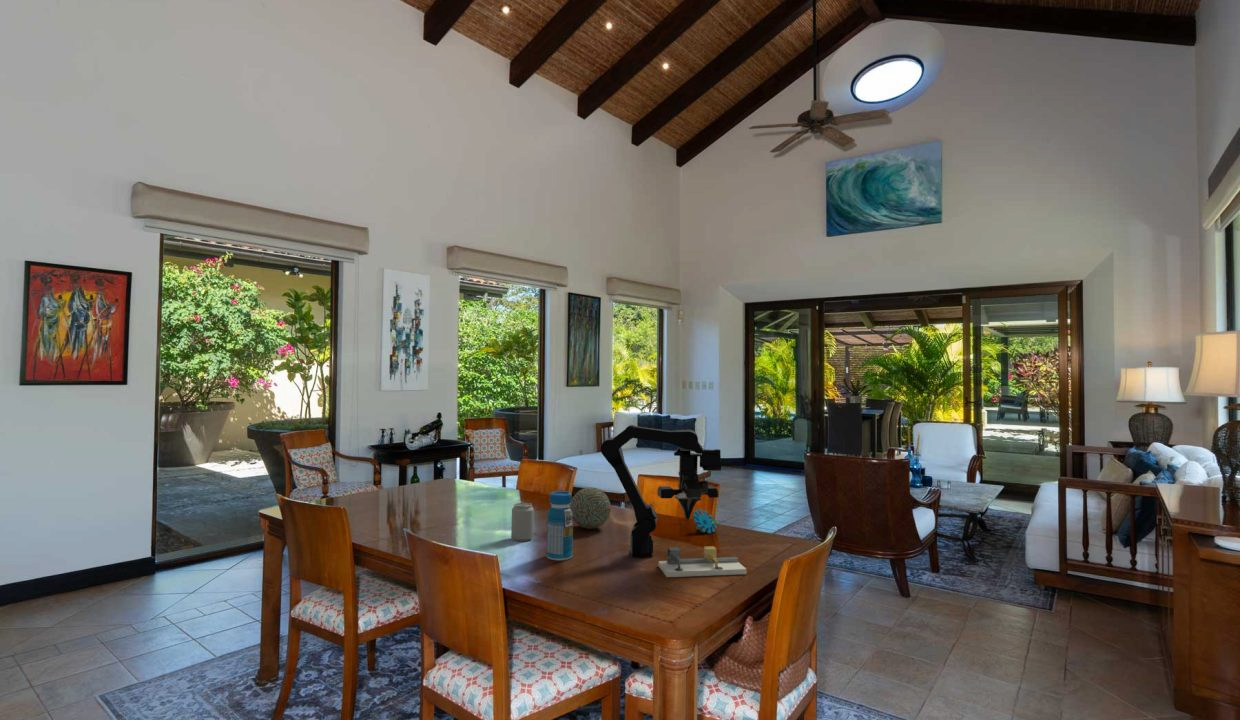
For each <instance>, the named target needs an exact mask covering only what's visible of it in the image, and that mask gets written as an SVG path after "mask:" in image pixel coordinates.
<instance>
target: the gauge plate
mask: <svg viewBox="0 0 1240 720" xmlns="http://www.w3.org/2000/svg"><path fill="white" fill-rule="evenodd" d="M680 565H681V567H680V568H678V565H677V564H667V560H660V561H659V560H658V567H659V569H660V570H661V571H662V573H663V574H664V576H665V577H666V578H678V577H679V578H680V577H683V578H684V577H705V576H706V577H707V576H708V577H709V576H731V575H733V576H734V575H747V567H745V566H743V565H742V564H741V563H740V562H739V561H738V562H723V563H718V567H715V563H693V564H680Z"/></svg>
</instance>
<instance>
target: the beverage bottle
mask: <svg viewBox="0 0 1240 720" xmlns="http://www.w3.org/2000/svg"><path fill="white" fill-rule="evenodd" d="M572 495H573V494H572V493H571V492H570V491H564V490H563V491H562V490H560V491H558V490H557V491H552V492H550V493H549V503H550V505H551V506H550V507H549V509H548V511H547V514H546V516H547V520H546V553H545V554H546V558H547V559H548V560H551V561H558V562H559V561H561V562H562V561H567V560H570V559H571V558H572V557H573V541H574V540H573V538H574V525H575V524H574V522H575V521H574V520H573V511H572V509H571V507H570V504H571V501H572V497H573V496H572Z"/></svg>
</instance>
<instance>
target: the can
mask: <svg viewBox="0 0 1240 720" xmlns="http://www.w3.org/2000/svg"><path fill="white" fill-rule="evenodd" d="M534 511H535V509H534V507H533V504H532V503H530V502H515V503H514V504H513V507H512V508H511V527H510V528H511V532H510V533H511V534H510V535H511V536H510V537H511V538H512V539H513V541H516V542H527V541H531V539H532V538H533V537H534V514H535V513H534Z"/></svg>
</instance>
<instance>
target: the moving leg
mask: <svg viewBox="0 0 1240 720" xmlns="http://www.w3.org/2000/svg"><path fill="white" fill-rule="evenodd" d="M703 558H706V559H711V560H712V561H713V562H714V563H715V567H718V561H717V560H716V558H717V548H716V547H715V546H714V545H712V546H710V545H709V546H703Z"/></svg>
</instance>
